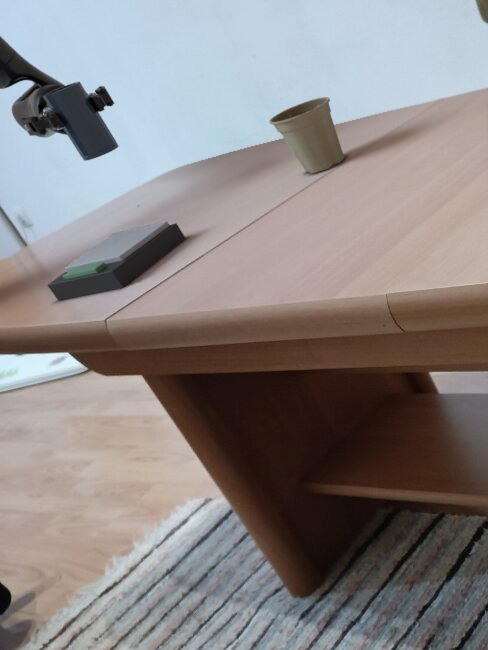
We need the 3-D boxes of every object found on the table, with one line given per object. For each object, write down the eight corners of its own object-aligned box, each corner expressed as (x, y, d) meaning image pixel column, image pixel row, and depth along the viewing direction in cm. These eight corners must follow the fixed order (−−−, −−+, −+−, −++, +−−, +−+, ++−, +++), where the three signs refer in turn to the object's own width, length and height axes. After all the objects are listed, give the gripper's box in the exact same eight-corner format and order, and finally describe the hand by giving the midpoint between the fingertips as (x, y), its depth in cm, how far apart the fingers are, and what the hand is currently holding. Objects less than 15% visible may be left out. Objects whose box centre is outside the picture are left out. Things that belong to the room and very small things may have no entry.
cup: (76, 163, 135) (34, 98, 129) (100, 150, 139) (60, 86, 133) (102, 156, 133) (61, 90, 127) (126, 143, 137) (87, 78, 131)
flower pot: (351, 147, 137) (325, 92, 133) (358, 159, 130) (331, 101, 125) (295, 170, 136) (267, 116, 131) (299, 184, 129) (270, 126, 124)
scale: (58, 300, 117) (43, 280, 115) (124, 252, 127) (111, 233, 126) (123, 287, 113) (108, 266, 111) (186, 238, 123) (173, 218, 121)
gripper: (0, 104, 138) (14, 106, 125) (88, 69, 143) (109, 68, 131) (31, 150, 142) (47, 156, 130) (115, 114, 147) (138, 117, 135)
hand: (78, 112), depth 130 cm, fingers closed on cup, 5 cm apart
